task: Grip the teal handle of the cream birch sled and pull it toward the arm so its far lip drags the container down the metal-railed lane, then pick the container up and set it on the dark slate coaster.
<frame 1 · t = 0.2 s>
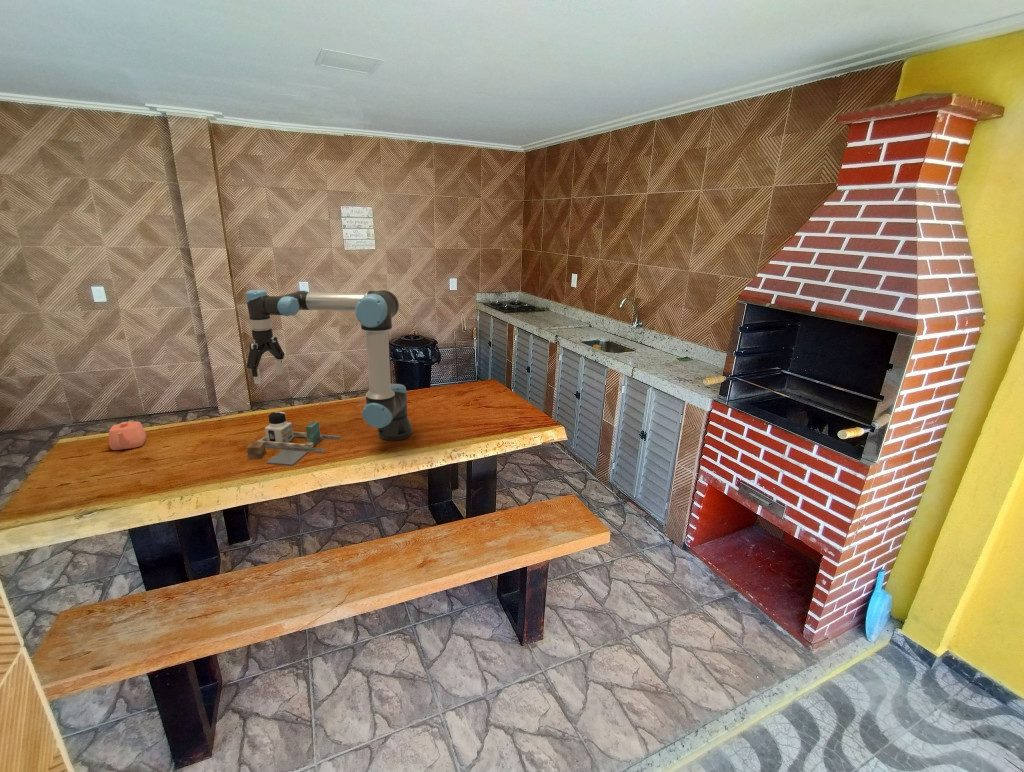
hand: (269, 378, 206), 27 cm above the table, fingers open, 13 cm apart
lanes: (298, 442, 211), on the table
walnut cube: (257, 456, 199), on the table
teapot: (129, 446, 205), on the table
container: (280, 441, 212), resting in sled
coaster: (287, 458, 197), on the table
sled: (290, 432, 210), point 5 cm above the table, slide at 0.0 cm
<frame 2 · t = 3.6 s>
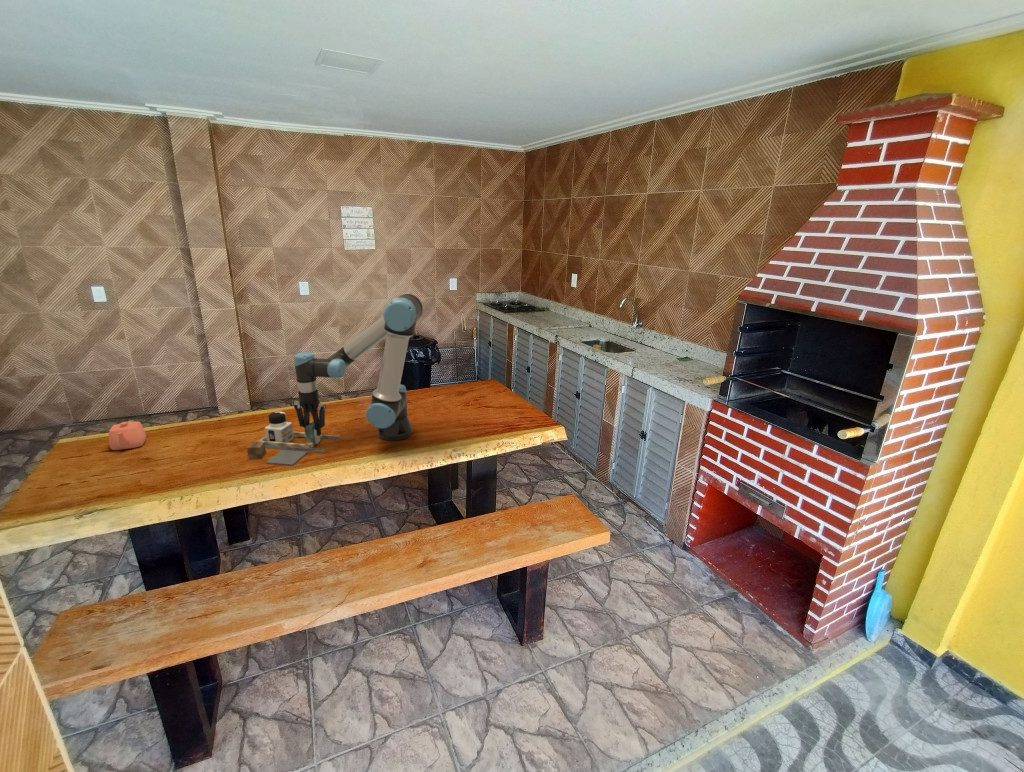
hand: (314, 441, 210), 1 cm above the table, fingers closed on sled, 2 cm apart
sled: (290, 432, 210), point 5 cm above the table, slide at 0.0 cm, touching gripper
everything else where it was.
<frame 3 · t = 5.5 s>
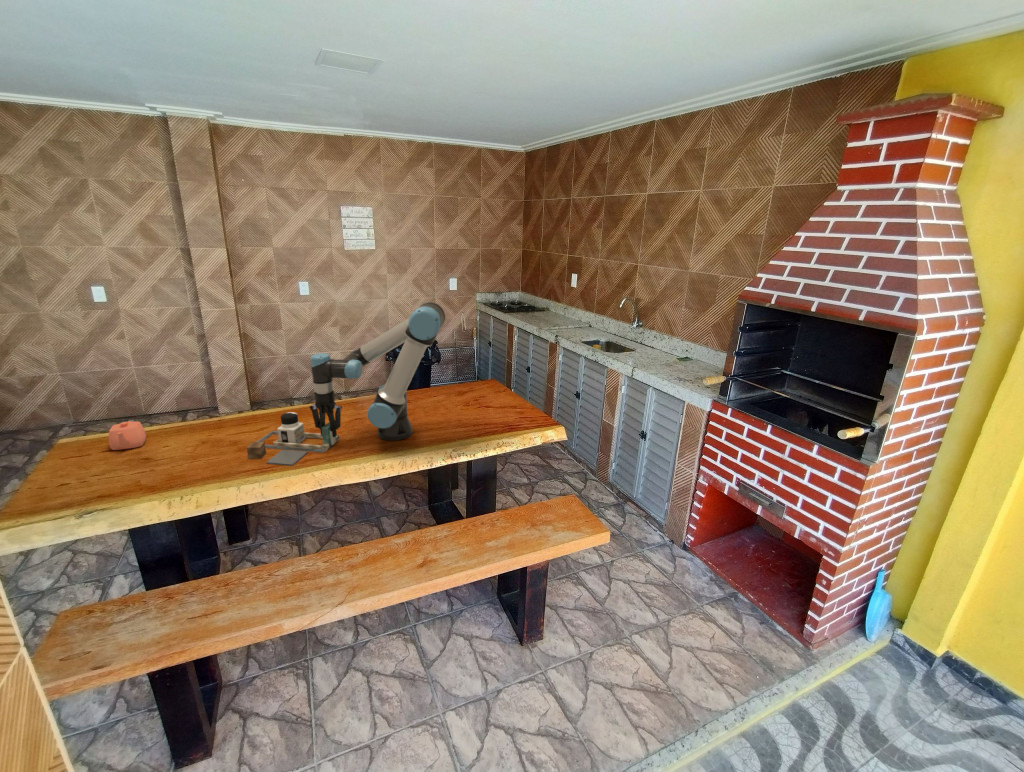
hand: (329, 443, 209), 1 cm above the table, fingers closed on sled, 2 cm apart
container: (292, 442, 212), resting in sled
sled: (305, 433, 209), point 5 cm above the table, slide at 7.0 cm, touching container, gripper
everything else where it was.
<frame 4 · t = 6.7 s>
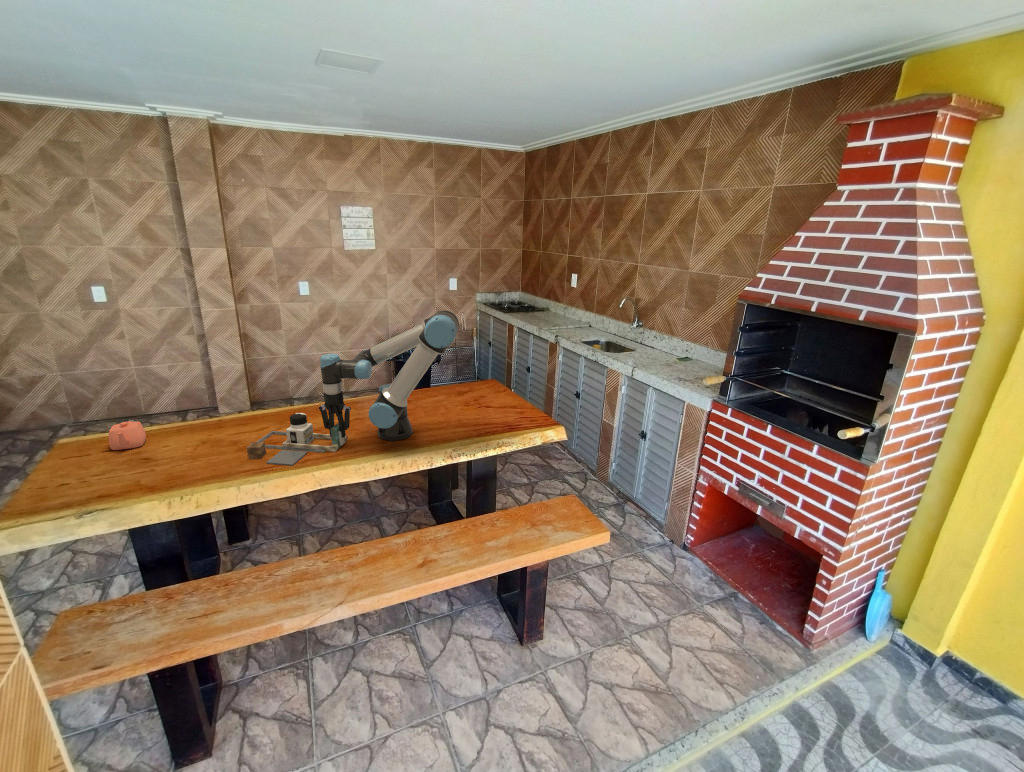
hand: (338, 443, 208), 1 cm above the table, fingers closed on sled, 2 cm apart
container: (301, 443, 211), resting in sled
sled: (314, 434, 208), point 5 cm above the table, slide at 11.0 cm, touching gripper
everything else where it was.
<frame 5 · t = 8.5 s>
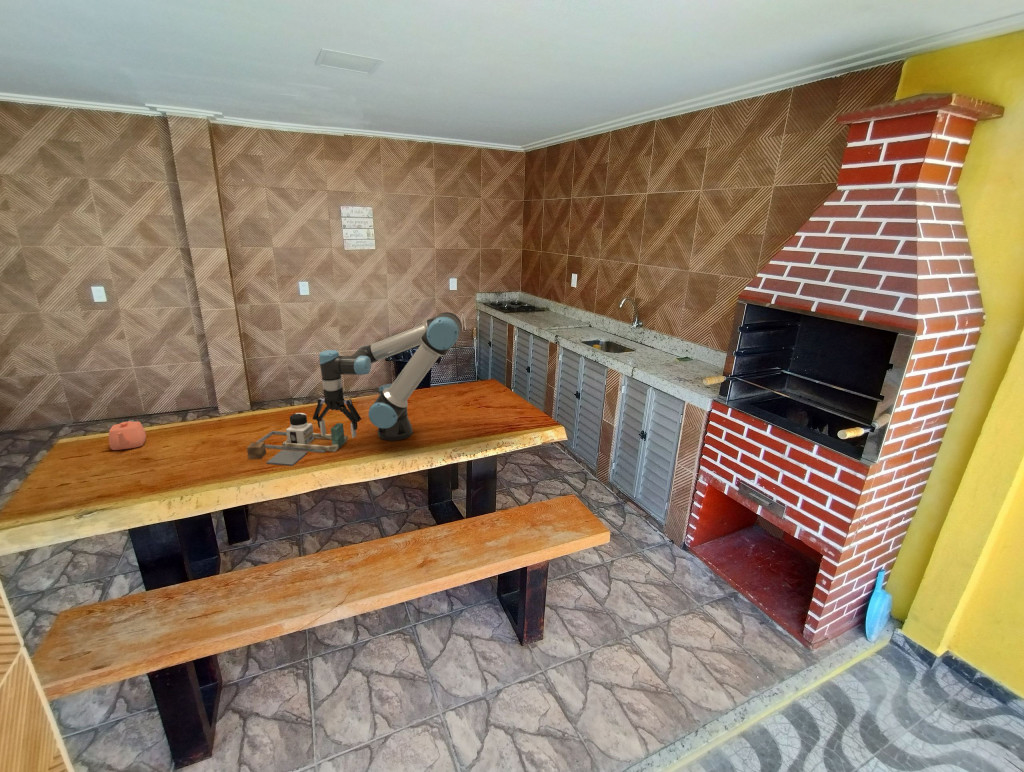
hand: (339, 435, 207), 5 cm above the table, fingers open, 13 cm apart
sled: (314, 434, 208), point 5 cm above the table, slide at 11.0 cm
everything else where it was.
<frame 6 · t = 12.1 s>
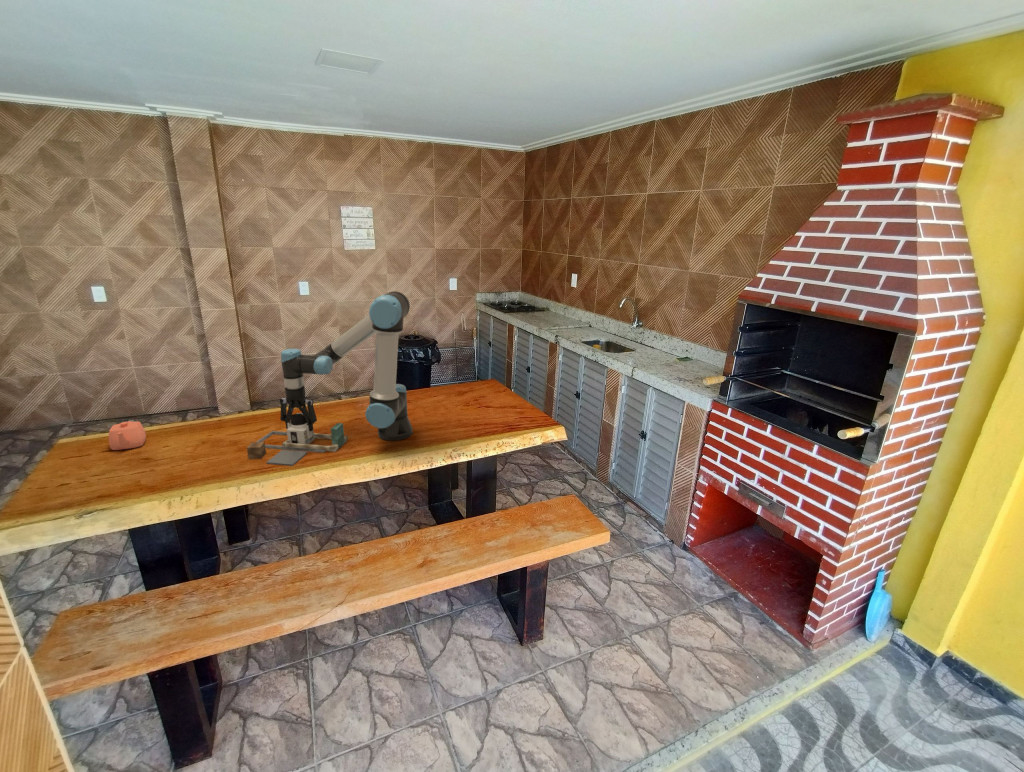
hand: (300, 436, 210), 3 cm above the table, fingers closed on container, 8 cm apart
container: (302, 443, 211), resting in sled, touching gripper
everything else where it was.
when the fingers open (5 cm above the table, at t = 17.8 s): container drops 1 cm, resting on coaster.
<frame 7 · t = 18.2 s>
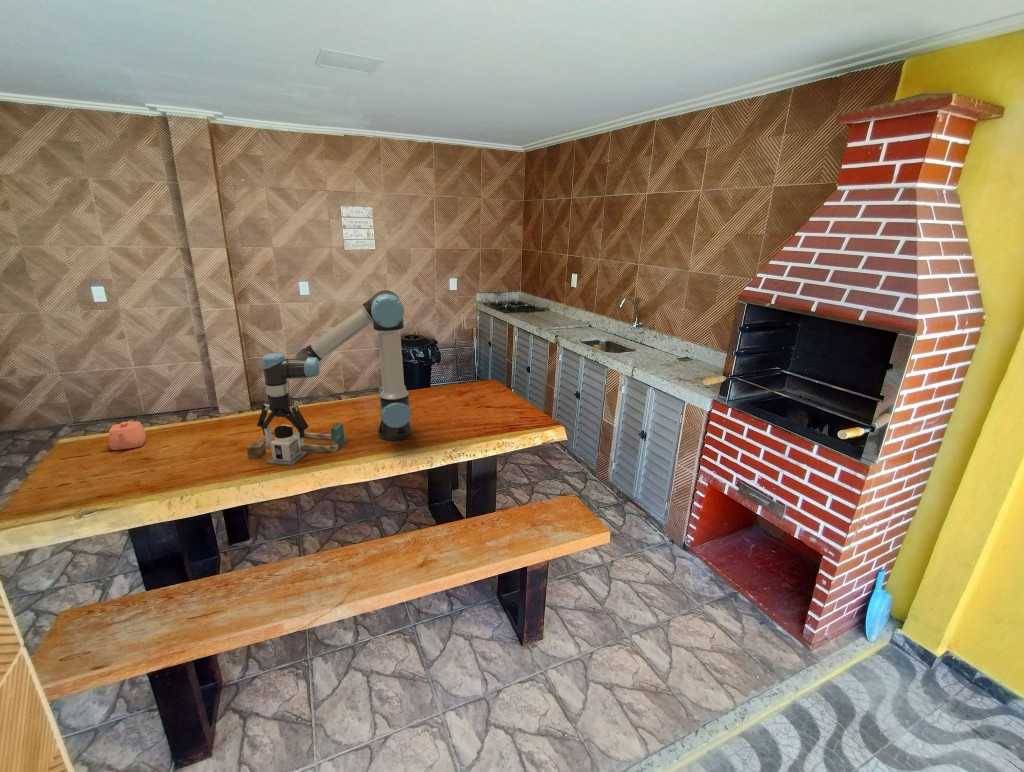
hand: (285, 444, 195), 6 cm above the table, fingers open, 13 cm apart
container: (287, 456, 198), resting on coaster
everything else where it was.
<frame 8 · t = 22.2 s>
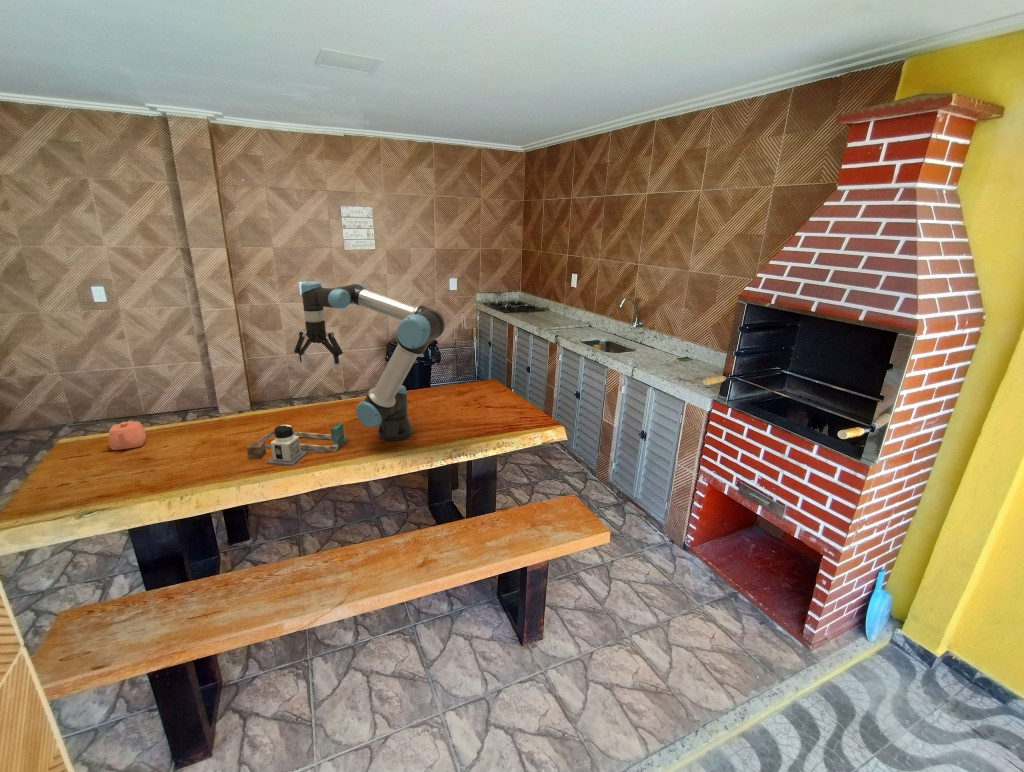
hand: (320, 370, 207), 31 cm above the table, fingers open, 13 cm apart
nothing on the table moved.
at the end: sled slide at 11.0 cm; container 0.4 cm from the coaster (horizontally); container tilted 0° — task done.
